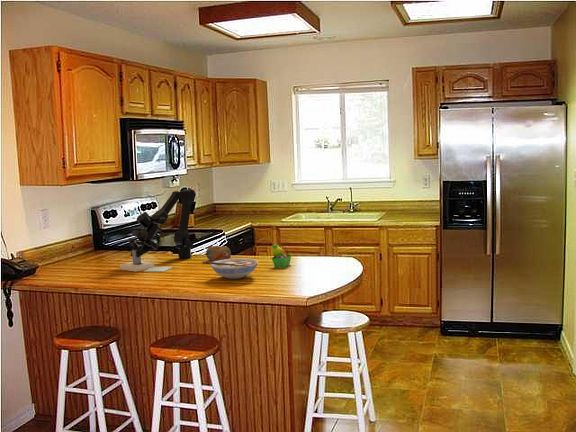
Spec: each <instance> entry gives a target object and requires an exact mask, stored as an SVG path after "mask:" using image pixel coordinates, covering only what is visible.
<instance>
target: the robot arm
mask: <svg viewBox="0 0 576 432" xmlns="http://www.w3.org/2000/svg"><path fill="white" fill-rule="evenodd" d="M196 193H197V192H196V191H195V190H194V189H188V188H187V189H185V188H184V189H182V190H174V191H172V192H171V195H169V197H168V199H166V201H165V203H164V204H162V205H163V206H162V207H161V208H159V209H158V210H156V211H155V212H154V213H153V214H152V215H150V214H149V213H148V212H147V211H143V212H142V213H141V214H139V215H138V216H137V218H136V221H137V223H138V224H140V226H142V227H143V228H144V229H141V230H138V229H133V230H132V233H131V236H132V237H129V239H128V240H127V242H128V243H129V244H130V245H131V246H132V248H131V253H130V257H132V250H135V249H139V250H140V251H139V252H138V254H137V257H140V256H141V257H142V256H143V255H145V254H146V253H148V252H151V251H153V250H154V251H157V249H158V244H157V242H155V241H154V240H155V238H156V237H155V235H156V234H157V232H162V225H165V223H166V222H167V220H168V218H169V214H170V212H171V211H172V209H173V208H174V207H175V206H176V204H177V202H178V201H179V200H180V201H181V204H182V206H181V213H180V219H179V226H178V229H177V231H174V235H173V241H174V244H175V247H176V248H178V250H177V252H178V254H177V255H178V260H179V259H181V260H182V259H191V258H192V257H193V256H192V248H193V246H194V242H192V241H191V239H190V233H189V229H188V228H189V222H190V215H191V210H192V209H191V207H192V205H193V203H194V202H195V199H196V196H197V194H196ZM160 225H161V226H160ZM135 237H136V238H135Z"/></svg>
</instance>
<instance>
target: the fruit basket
mask: <svg viewBox="0 0 576 432" xmlns="http://www.w3.org/2000/svg"><path fill="white" fill-rule="evenodd" d="M271 250H272V255H273V257H271V260H272V264H273V266H274V268H277V269H282V268H283V269H284V268H285V267H288V266H289V265H290V263H291V258H292V254H289V253H288V254H287V253H286V254H285V253H283V252H284V250H283V248H282V247H280V246H279V245H278V244H273V245H272V247H271Z"/></svg>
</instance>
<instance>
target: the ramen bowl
mask: <svg viewBox="0 0 576 432" xmlns="http://www.w3.org/2000/svg"><path fill="white" fill-rule="evenodd" d="M202 264H204V265H210V266H211V268H212V270H213V271H214V272H215V273H216V275H219V276H221V277H223V278H227V279H228V280H240V279H243V278H245V277H246V276H248V275H251V274H252V273H253V272H254V271H255V269H256V268H257V266H258V264H259V260H257V259H255V258H253V259H252V258H240V257H239V258H230V259H225V260H219V261H203V262H202Z"/></svg>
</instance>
